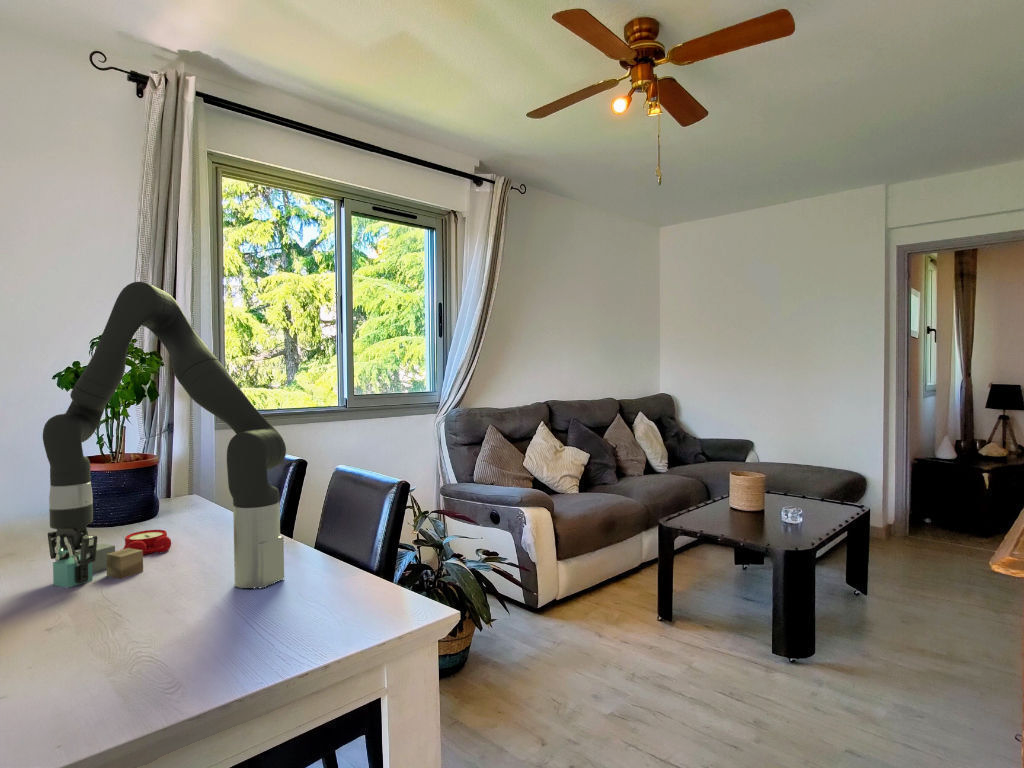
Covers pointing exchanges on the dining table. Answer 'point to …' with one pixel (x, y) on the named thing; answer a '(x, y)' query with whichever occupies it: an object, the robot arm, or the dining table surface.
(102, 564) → the grey-green rectangular block
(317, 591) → the dining table surface
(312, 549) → the dining table surface
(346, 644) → the dining table surface
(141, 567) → the brass block
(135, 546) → the alarm clock
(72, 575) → the teal block
